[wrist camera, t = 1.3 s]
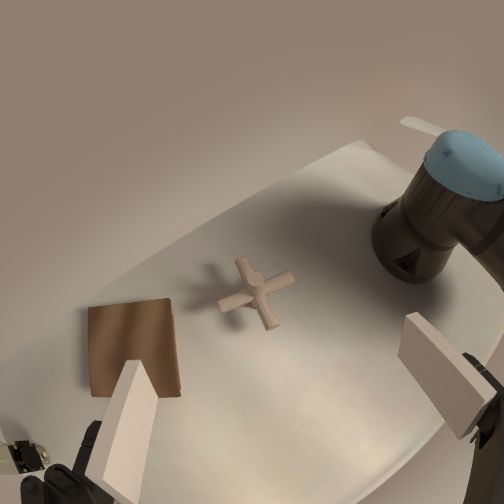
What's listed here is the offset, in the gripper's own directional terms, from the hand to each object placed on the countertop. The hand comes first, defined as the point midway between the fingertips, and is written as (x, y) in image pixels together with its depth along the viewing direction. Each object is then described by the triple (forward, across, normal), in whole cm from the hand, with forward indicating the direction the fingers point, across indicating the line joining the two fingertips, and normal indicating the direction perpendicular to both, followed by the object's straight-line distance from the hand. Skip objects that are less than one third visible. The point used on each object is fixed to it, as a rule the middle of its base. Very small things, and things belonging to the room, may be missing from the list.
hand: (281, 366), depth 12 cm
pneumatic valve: (+8, -43, -29) cm, 52 cm away
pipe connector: (+26, 0, -11) cm, 28 cm away
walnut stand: (+21, -18, -15) cm, 32 cm away
